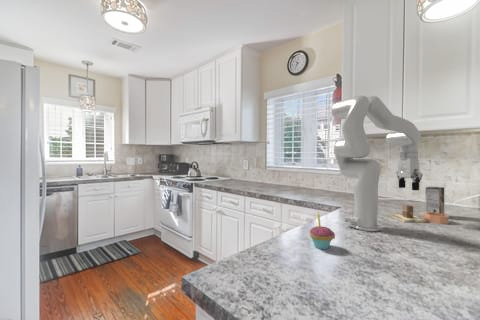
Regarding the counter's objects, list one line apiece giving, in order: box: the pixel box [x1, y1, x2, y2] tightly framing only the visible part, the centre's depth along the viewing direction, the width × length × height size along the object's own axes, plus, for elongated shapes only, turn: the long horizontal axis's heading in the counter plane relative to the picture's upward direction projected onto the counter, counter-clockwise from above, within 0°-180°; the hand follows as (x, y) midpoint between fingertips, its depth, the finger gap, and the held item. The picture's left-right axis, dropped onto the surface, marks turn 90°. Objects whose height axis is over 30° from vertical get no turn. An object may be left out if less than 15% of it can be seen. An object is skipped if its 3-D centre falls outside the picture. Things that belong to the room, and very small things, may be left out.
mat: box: [388, 215, 429, 224], centre depth 117 cm, size 12×12×1 cm
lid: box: [389, 204, 428, 224], centre depth 117 cm, size 11×11×7 cm
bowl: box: [423, 211, 450, 225], centre depth 114 cm, size 9×9×4 cm
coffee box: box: [425, 186, 445, 214], centre depth 126 cm, size 9×6×16 cm
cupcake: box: [309, 212, 336, 250], centre depth 80 cm, size 9×8×12 cm
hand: (408, 188), depth 117 cm, fingers open, 9 cm apart
